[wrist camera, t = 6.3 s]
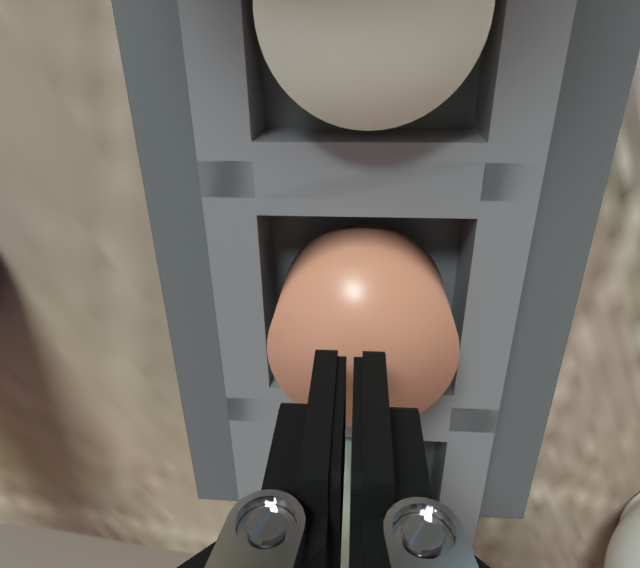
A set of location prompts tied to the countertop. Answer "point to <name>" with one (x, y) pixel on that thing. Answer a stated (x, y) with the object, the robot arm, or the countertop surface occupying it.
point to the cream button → (371, 55)
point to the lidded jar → (626, 538)
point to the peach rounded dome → (365, 315)
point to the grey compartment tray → (378, 221)
